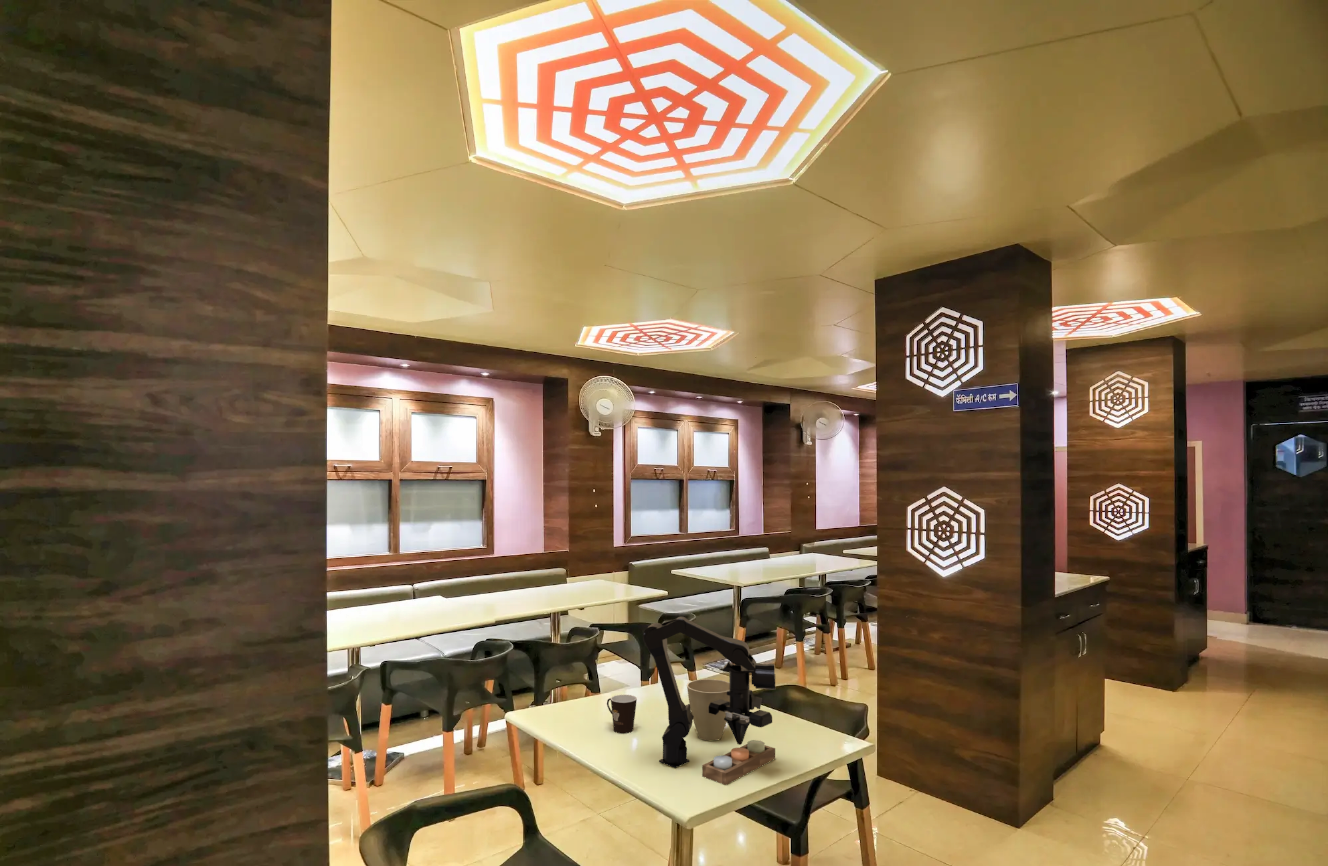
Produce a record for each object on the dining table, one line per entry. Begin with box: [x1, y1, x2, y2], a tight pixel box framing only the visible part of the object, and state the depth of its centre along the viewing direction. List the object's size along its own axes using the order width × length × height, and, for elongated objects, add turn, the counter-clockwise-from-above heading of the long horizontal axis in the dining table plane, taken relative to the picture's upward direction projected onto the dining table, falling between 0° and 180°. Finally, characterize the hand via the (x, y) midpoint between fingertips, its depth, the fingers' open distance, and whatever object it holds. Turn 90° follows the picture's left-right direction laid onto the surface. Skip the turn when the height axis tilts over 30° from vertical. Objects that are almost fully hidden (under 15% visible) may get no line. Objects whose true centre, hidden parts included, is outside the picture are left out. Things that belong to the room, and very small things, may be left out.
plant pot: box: [686, 678, 730, 741], centre depth 209 cm, size 15×15×16 cm
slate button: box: [713, 754, 732, 771], centre depth 179 cm, size 5×5×3 cm
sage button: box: [746, 739, 765, 754], centre depth 191 cm, size 5×5×3 cm
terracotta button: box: [730, 747, 749, 762], centre depth 185 cm, size 5×5×3 cm
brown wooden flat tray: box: [701, 743, 776, 786], centre depth 185 cm, size 8×24×3 cm, turn 138°
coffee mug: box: [606, 694, 638, 735], centre depth 216 cm, size 12×9×10 cm
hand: (739, 744), depth 186 cm, fingers closed
